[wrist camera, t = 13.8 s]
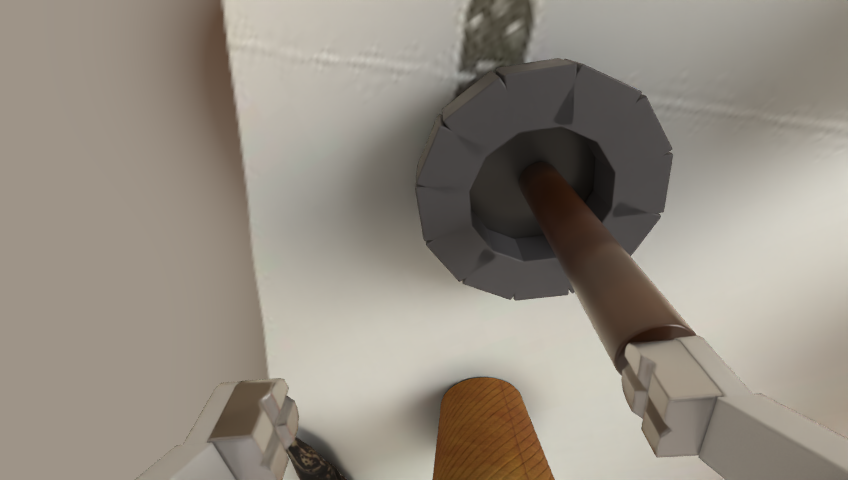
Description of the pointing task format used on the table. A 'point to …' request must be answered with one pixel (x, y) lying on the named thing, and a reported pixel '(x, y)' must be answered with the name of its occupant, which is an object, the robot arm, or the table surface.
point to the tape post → (573, 234)
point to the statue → (311, 463)
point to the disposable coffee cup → (487, 435)
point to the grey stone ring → (529, 111)
